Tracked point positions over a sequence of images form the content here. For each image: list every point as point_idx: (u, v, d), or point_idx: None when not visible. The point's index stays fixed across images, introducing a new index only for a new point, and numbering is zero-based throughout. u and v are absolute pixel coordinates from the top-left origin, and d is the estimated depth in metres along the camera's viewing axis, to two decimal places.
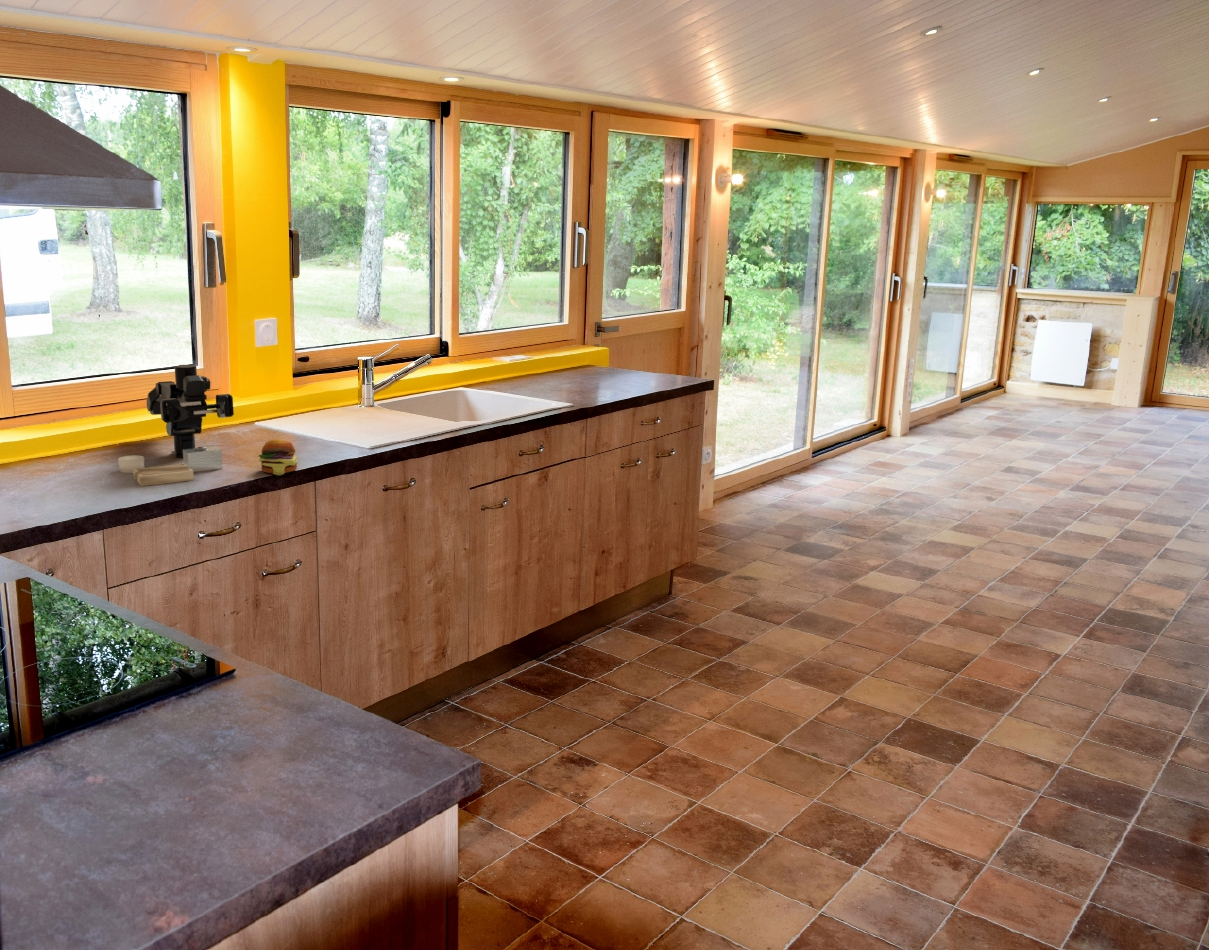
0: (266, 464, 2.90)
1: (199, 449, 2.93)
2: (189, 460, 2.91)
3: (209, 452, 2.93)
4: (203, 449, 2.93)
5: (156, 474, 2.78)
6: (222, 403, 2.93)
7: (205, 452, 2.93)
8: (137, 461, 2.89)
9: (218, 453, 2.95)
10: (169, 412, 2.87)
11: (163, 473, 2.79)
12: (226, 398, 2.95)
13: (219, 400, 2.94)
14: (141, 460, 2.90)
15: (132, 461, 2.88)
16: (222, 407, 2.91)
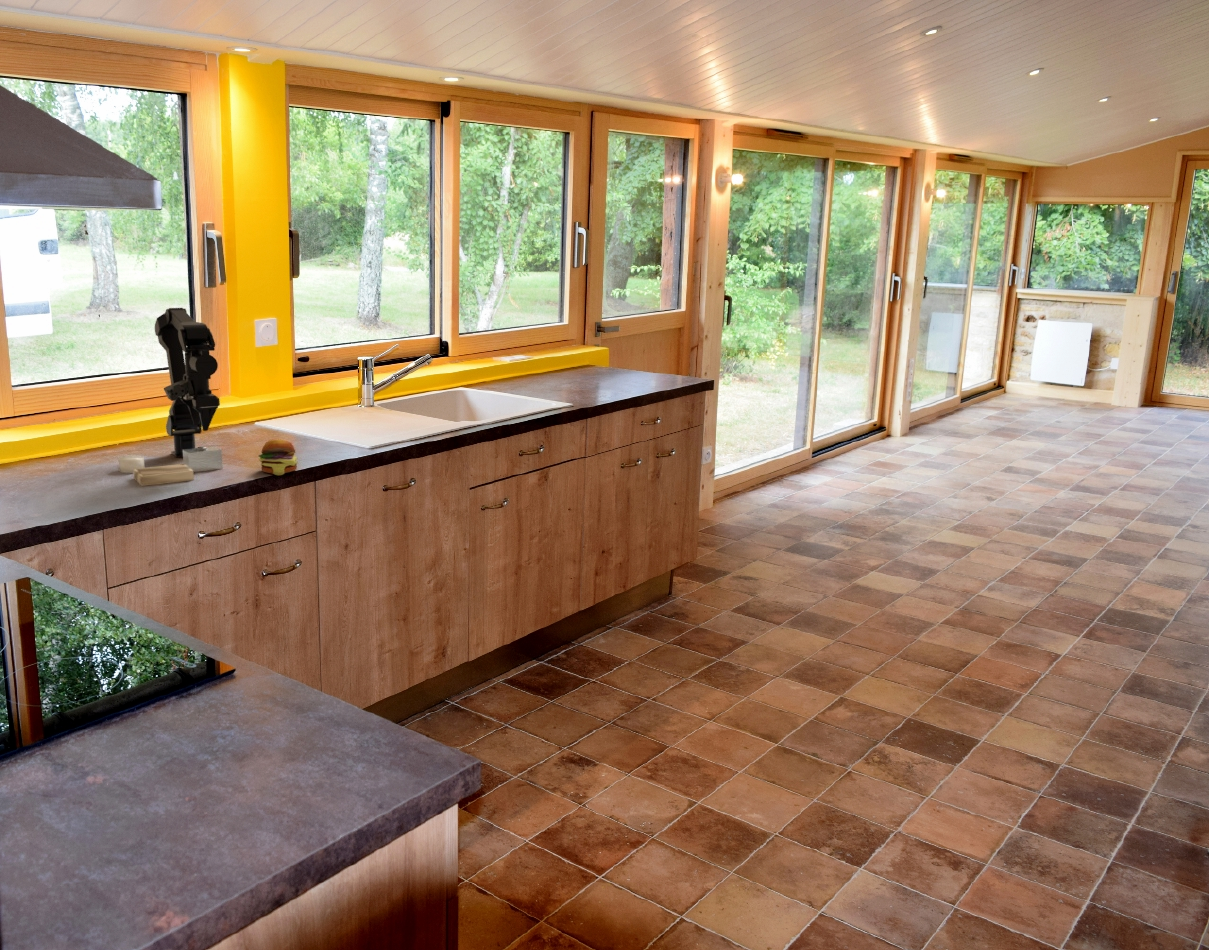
0: (266, 464, 2.90)
1: (199, 449, 2.93)
2: (190, 460, 2.91)
3: (209, 452, 2.93)
4: (203, 449, 2.93)
5: (156, 474, 2.78)
6: (200, 415, 2.87)
7: (205, 452, 2.93)
8: (137, 461, 2.89)
9: (218, 453, 2.95)
10: None
11: (163, 473, 2.79)
12: (197, 409, 2.84)
13: None
14: (141, 460, 2.90)
15: (132, 461, 2.88)
16: (201, 424, 2.88)
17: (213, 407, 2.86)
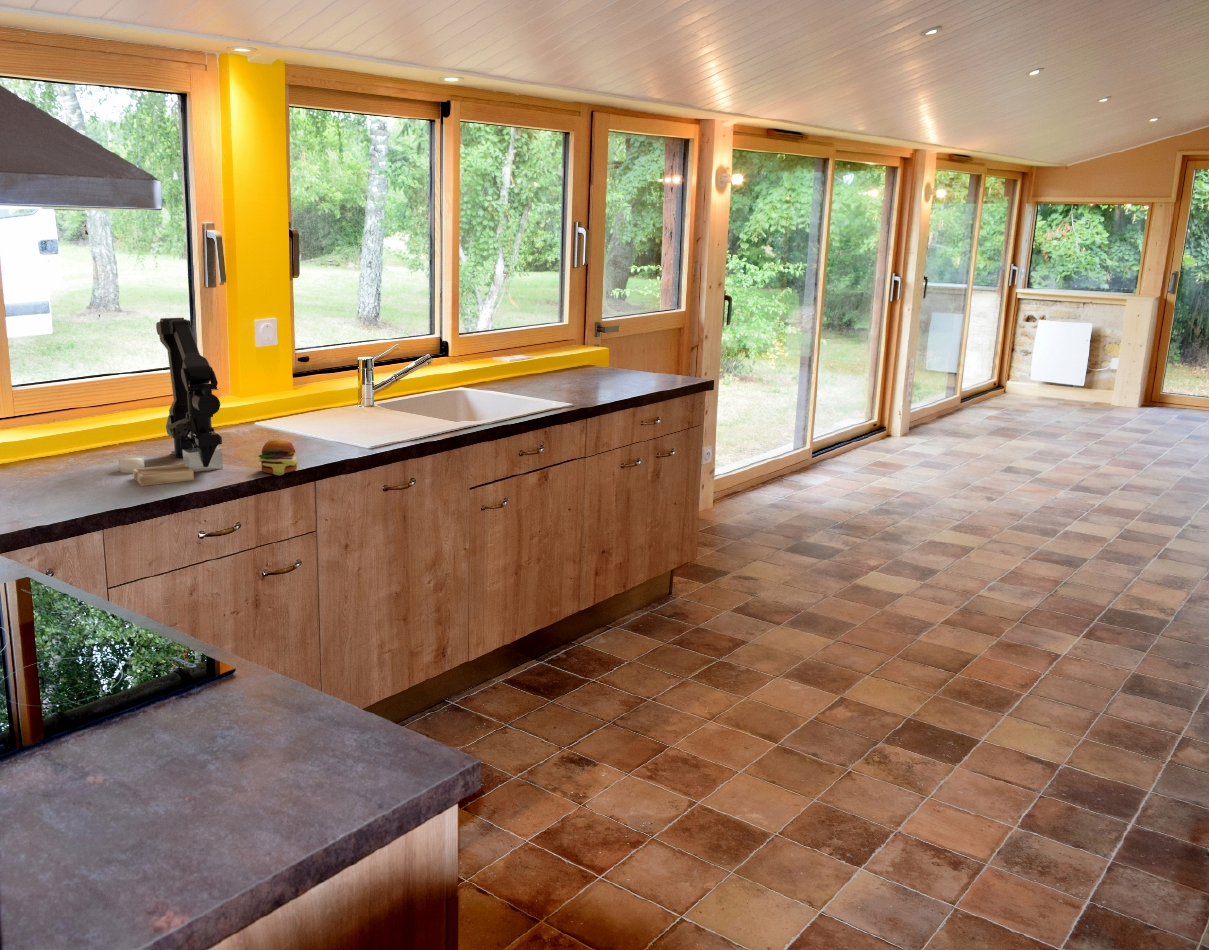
0: (266, 464, 2.90)
1: (199, 449, 2.93)
2: (190, 460, 2.90)
3: None
4: None
5: (156, 474, 2.78)
6: (200, 451, 2.90)
7: None
8: (137, 461, 2.89)
9: (218, 453, 2.95)
10: None
11: (163, 473, 2.79)
12: (198, 446, 2.88)
13: None
14: (141, 460, 2.90)
15: (132, 461, 2.88)
16: (202, 461, 2.92)
17: None
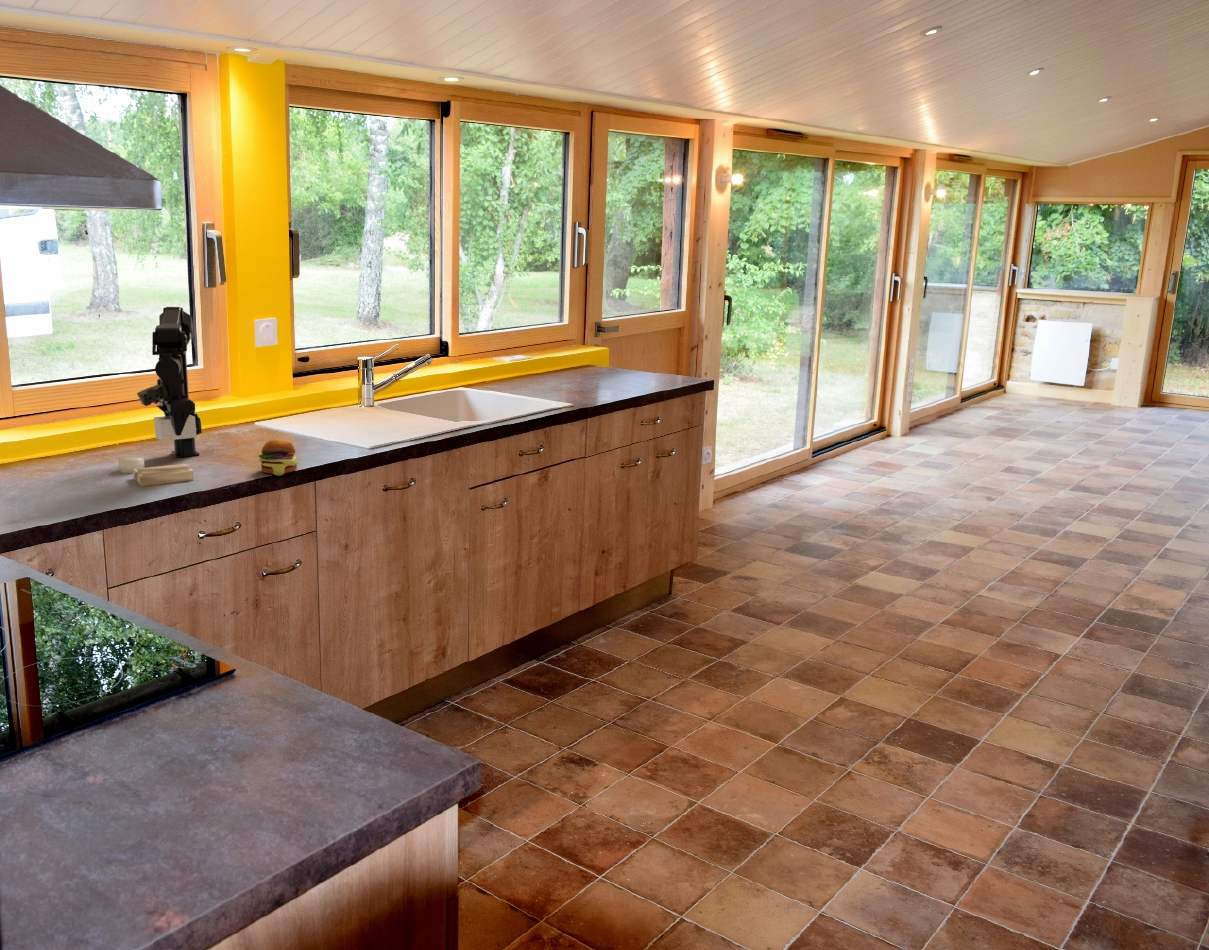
0: (266, 464, 2.90)
1: None
2: (162, 427, 2.80)
3: None
4: None
5: (156, 474, 2.78)
6: (172, 419, 2.80)
7: None
8: (137, 461, 2.89)
9: (192, 421, 2.84)
10: None
11: (163, 473, 2.79)
12: (170, 413, 2.77)
13: (169, 414, 2.79)
14: (141, 460, 2.90)
15: (132, 461, 2.88)
16: None
17: (186, 411, 2.79)
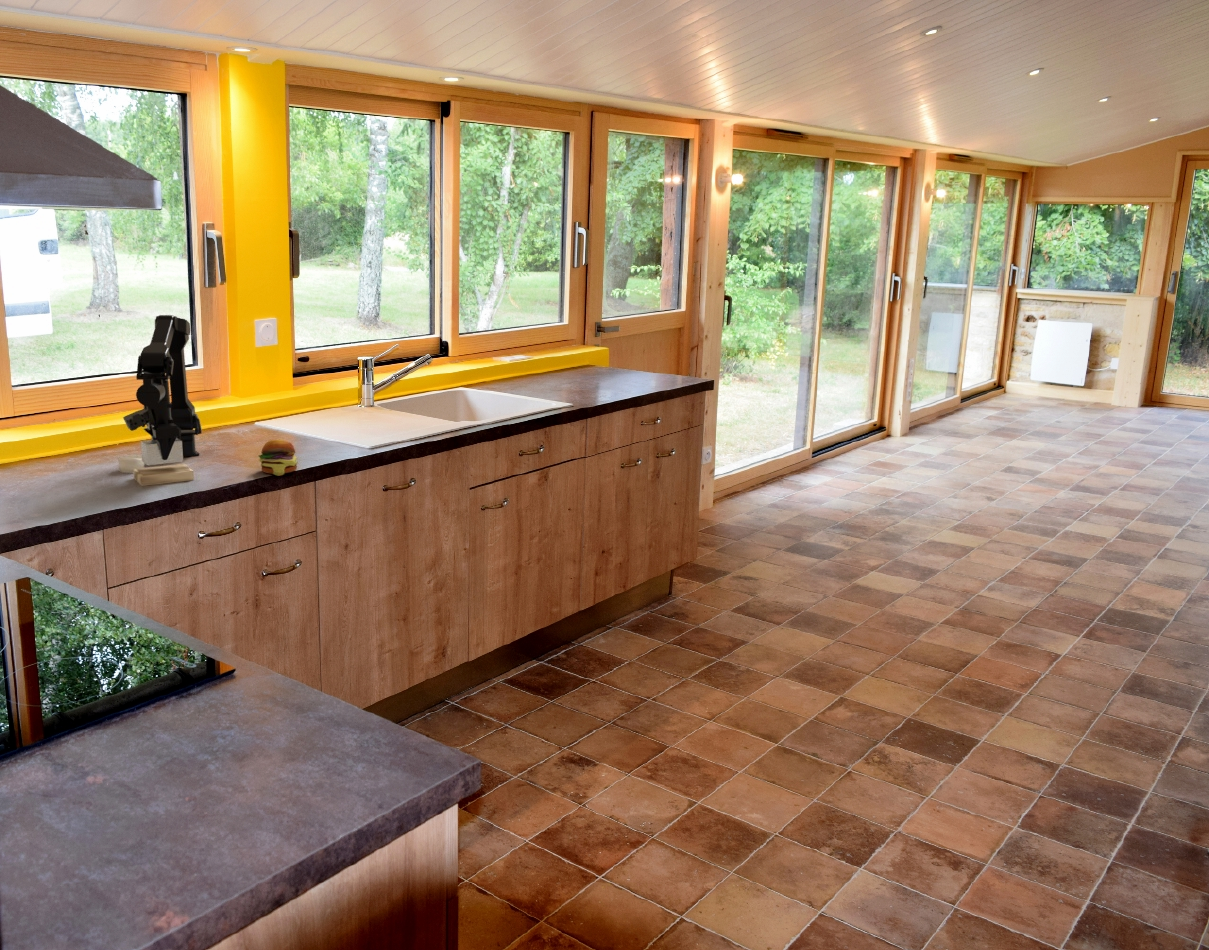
0: (266, 464, 2.90)
1: None
2: (148, 452, 2.77)
3: None
4: None
5: (156, 474, 2.78)
6: (159, 444, 2.77)
7: None
8: (137, 461, 2.89)
9: (178, 445, 2.82)
10: None
11: (163, 473, 2.79)
12: (156, 438, 2.75)
13: None
14: (141, 460, 2.90)
15: (132, 461, 2.88)
16: (161, 453, 2.79)
17: None
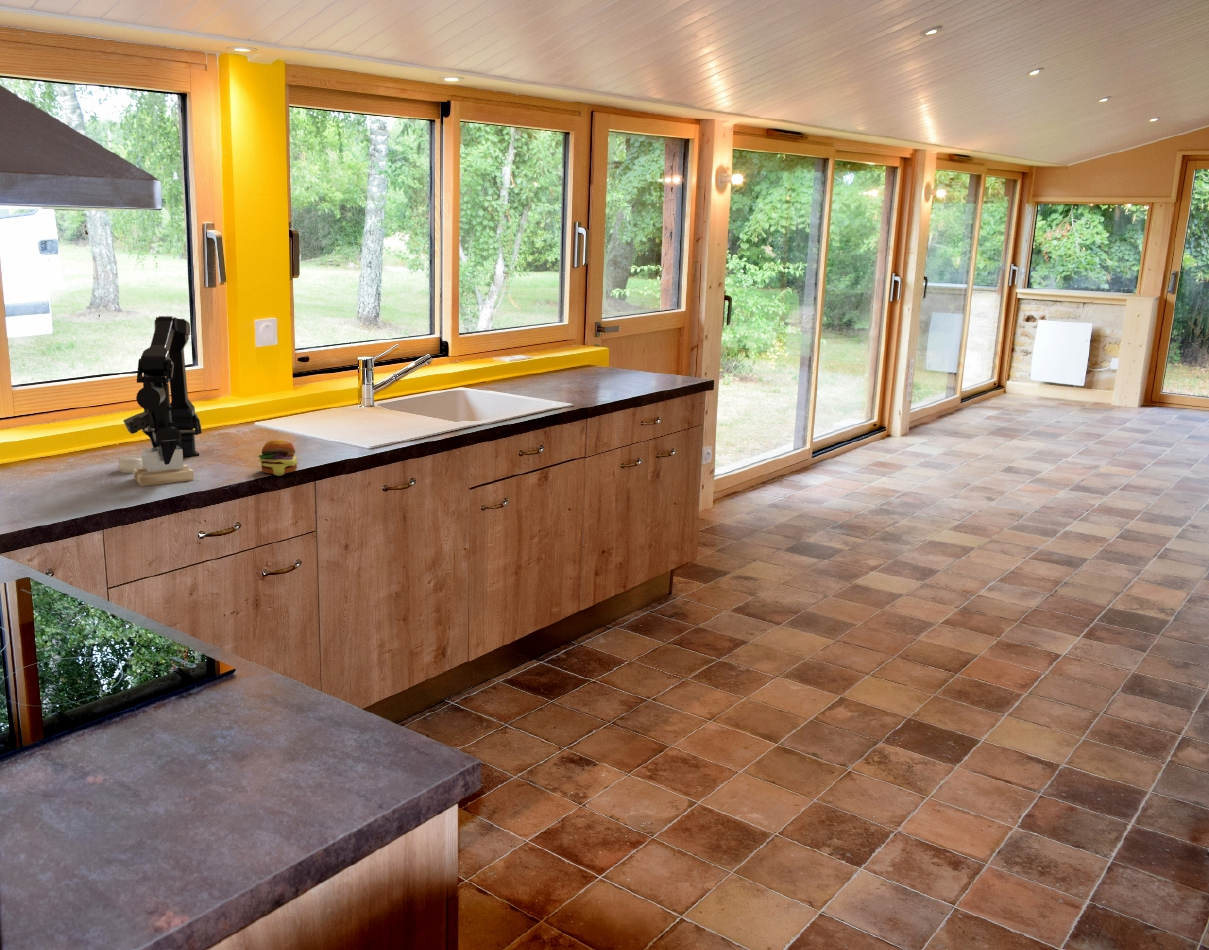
0: (266, 464, 2.90)
1: (159, 448, 2.80)
2: (148, 460, 2.78)
3: None
4: None
5: (156, 474, 2.78)
6: (161, 448, 2.76)
7: None
8: (137, 461, 2.89)
9: (179, 453, 2.82)
10: None
11: (163, 473, 2.79)
12: (158, 443, 2.74)
13: None
14: (141, 460, 2.90)
15: (132, 461, 2.88)
16: (163, 458, 2.77)
17: (174, 440, 2.75)
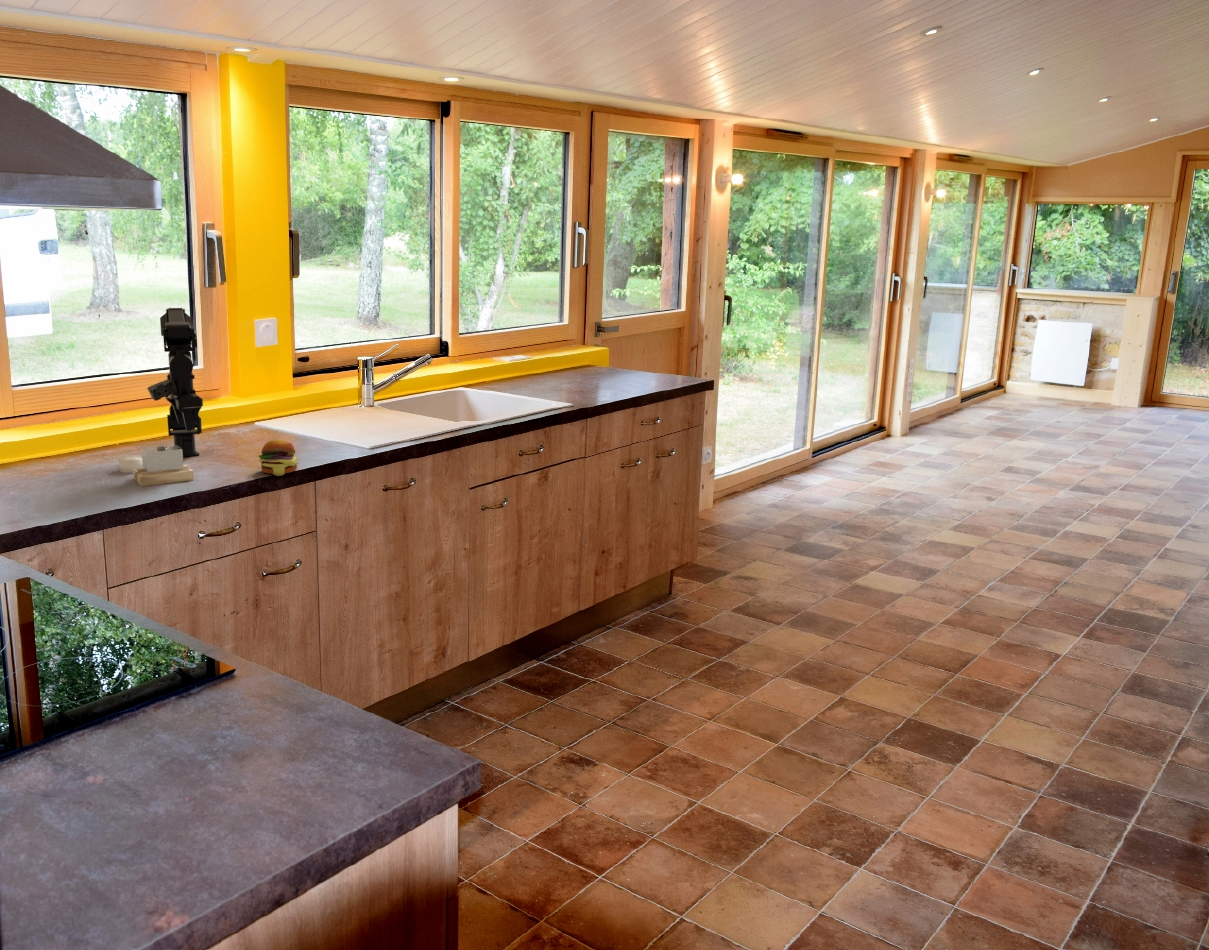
0: (266, 465, 2.90)
1: (159, 448, 2.80)
2: (148, 460, 2.78)
3: (169, 451, 2.80)
4: (163, 448, 2.81)
5: (156, 474, 2.78)
6: (183, 415, 2.85)
7: (165, 452, 2.80)
8: (137, 461, 2.89)
9: (179, 453, 2.82)
10: None
11: (163, 473, 2.79)
12: (180, 410, 2.83)
13: None
14: (141, 460, 2.90)
15: (132, 461, 2.88)
16: (185, 424, 2.87)
17: (196, 407, 2.85)
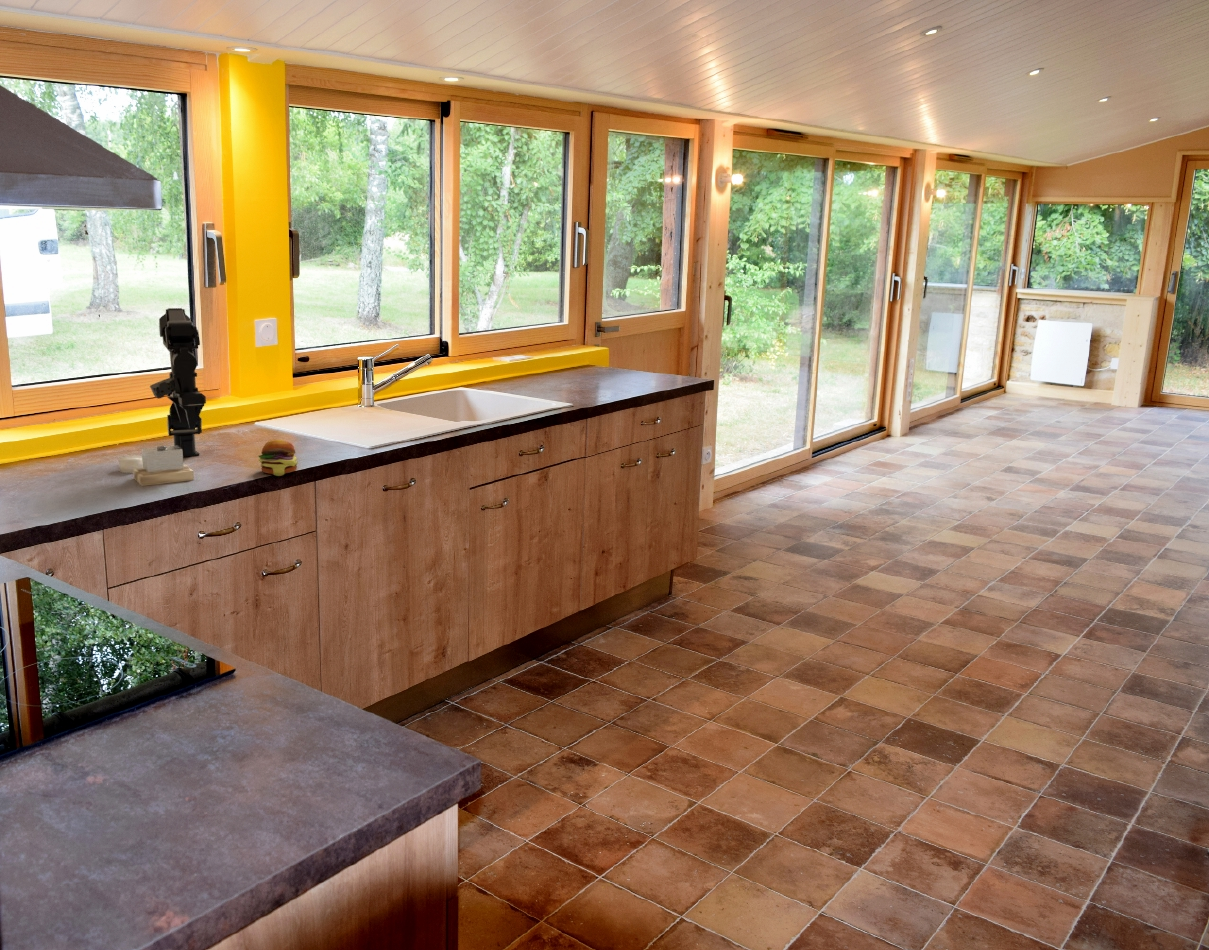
0: (266, 465, 2.90)
1: (159, 448, 2.80)
2: (148, 460, 2.78)
3: (169, 451, 2.80)
4: (163, 448, 2.81)
5: (156, 474, 2.78)
6: (186, 412, 2.86)
7: (165, 452, 2.80)
8: (137, 461, 2.89)
9: (179, 453, 2.82)
10: None
11: (163, 473, 2.79)
12: None
13: (183, 408, 2.86)
14: (141, 460, 2.90)
15: (132, 461, 2.88)
16: (188, 422, 2.88)
17: (199, 405, 2.86)
